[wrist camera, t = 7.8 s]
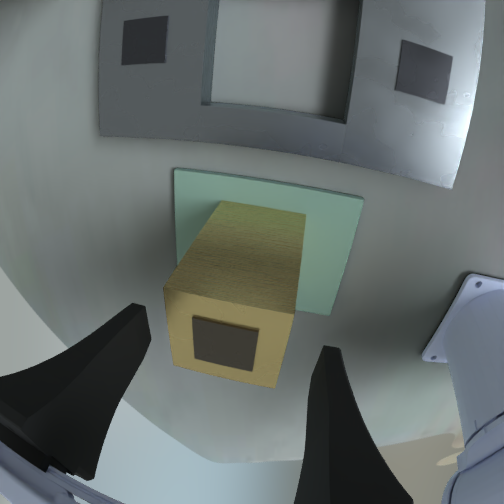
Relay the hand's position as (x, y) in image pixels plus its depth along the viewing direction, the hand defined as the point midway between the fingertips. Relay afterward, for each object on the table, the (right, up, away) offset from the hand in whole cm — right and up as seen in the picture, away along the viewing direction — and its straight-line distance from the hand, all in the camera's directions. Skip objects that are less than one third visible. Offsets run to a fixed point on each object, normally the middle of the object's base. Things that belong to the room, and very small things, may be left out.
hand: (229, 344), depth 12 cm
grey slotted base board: (+2, +13, 0) cm, 13 cm away
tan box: (+1, +4, +6) cm, 7 cm away
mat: (+1, +4, +6) cm, 8 cm away
